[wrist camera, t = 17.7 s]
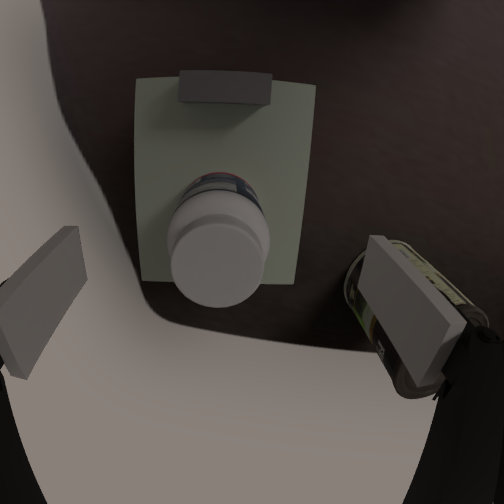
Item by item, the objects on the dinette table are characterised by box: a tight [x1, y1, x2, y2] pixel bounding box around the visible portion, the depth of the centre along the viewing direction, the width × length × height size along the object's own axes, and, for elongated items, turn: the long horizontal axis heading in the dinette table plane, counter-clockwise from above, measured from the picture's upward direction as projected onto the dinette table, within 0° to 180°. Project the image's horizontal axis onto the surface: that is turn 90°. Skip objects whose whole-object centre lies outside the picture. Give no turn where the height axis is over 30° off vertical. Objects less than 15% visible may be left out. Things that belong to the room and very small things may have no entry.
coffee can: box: [344, 240, 489, 399], centre depth 28 cm, size 10×10×14 cm
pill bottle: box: [167, 171, 270, 308], centre depth 17 cm, size 5×5×9 cm
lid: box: [134, 70, 316, 284], centre depth 19 cm, size 15×12×4 cm
